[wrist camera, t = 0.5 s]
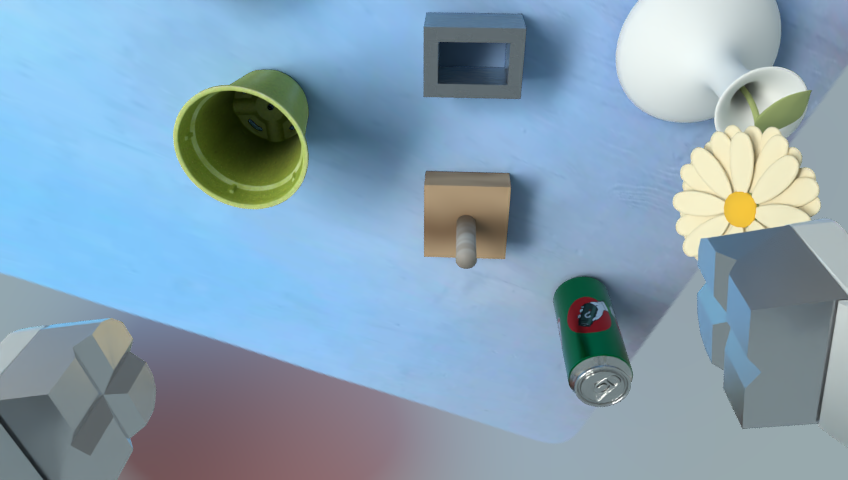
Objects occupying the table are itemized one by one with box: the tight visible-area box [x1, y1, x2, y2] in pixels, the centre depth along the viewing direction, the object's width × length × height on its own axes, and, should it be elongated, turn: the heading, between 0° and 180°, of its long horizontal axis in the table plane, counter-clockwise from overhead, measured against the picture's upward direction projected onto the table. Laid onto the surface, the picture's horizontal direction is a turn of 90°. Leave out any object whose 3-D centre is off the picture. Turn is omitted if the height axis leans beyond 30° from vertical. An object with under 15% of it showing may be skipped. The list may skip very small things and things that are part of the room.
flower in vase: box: [616, 0, 821, 261], centre depth 39 cm, size 13×11×25 cm
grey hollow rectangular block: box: [424, 13, 526, 99], centre depth 48 cm, size 7×5×4 cm
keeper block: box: [424, 171, 511, 269], centre depth 54 cm, size 7×7×8 cm
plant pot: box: [173, 70, 309, 209], centre depth 49 cm, size 9×9×9 cm
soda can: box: [553, 277, 633, 407], centre depth 57 cm, size 5×5×12 cm
